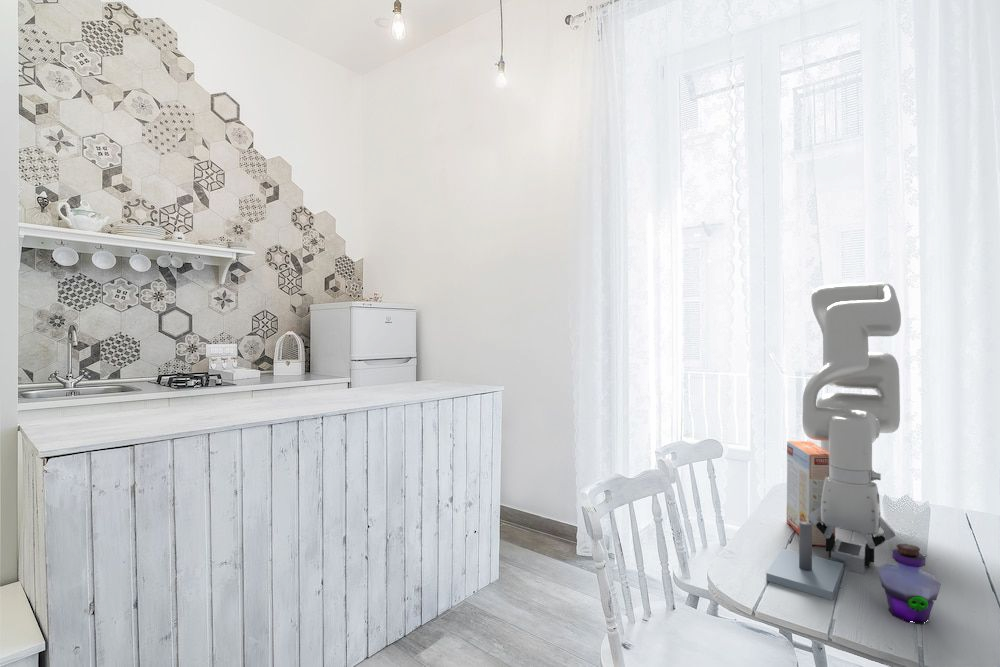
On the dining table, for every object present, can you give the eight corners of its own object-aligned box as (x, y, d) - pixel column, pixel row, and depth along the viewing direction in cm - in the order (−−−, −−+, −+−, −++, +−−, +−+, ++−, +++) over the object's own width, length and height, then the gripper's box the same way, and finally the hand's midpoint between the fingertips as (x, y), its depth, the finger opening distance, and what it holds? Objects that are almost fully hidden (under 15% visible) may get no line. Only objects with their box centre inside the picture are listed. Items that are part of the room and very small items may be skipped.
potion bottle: (905, 631, 83) (905, 559, 83) (864, 602, 92) (865, 536, 91) (955, 628, 83) (956, 556, 83) (910, 600, 92) (910, 534, 92)
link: (836, 551, 111) (836, 538, 111) (867, 559, 107) (868, 545, 107) (830, 565, 105) (830, 551, 105) (863, 574, 101) (863, 559, 101)
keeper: (782, 555, 110) (782, 507, 110) (843, 570, 103) (843, 519, 103) (766, 580, 99) (766, 527, 99) (832, 600, 92) (832, 543, 92)
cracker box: (837, 548, 113) (837, 455, 112) (807, 546, 114) (807, 454, 114) (812, 523, 127) (812, 440, 126) (785, 521, 128) (785, 439, 127)
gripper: (903, 478, 103) (902, 565, 103) (806, 463, 114) (806, 542, 115) (901, 487, 97) (900, 580, 98) (799, 471, 109) (799, 554, 109)
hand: (849, 559), depth 106 cm, fingers closed on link, 5 cm apart
